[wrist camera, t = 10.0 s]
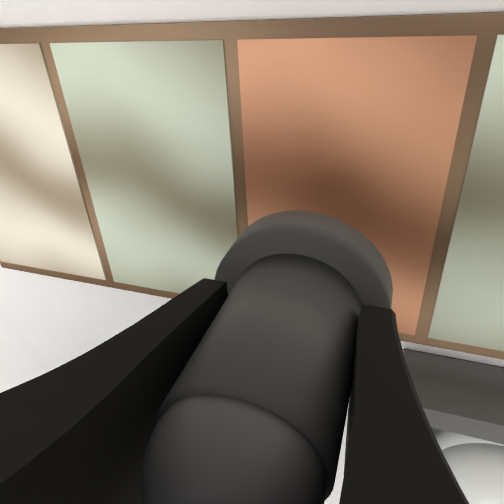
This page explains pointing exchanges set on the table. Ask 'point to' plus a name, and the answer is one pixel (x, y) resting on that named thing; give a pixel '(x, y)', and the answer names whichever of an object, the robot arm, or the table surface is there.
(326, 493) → the pawn
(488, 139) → the game track
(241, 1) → the table surface
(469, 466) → the dome
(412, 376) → the dome housing
